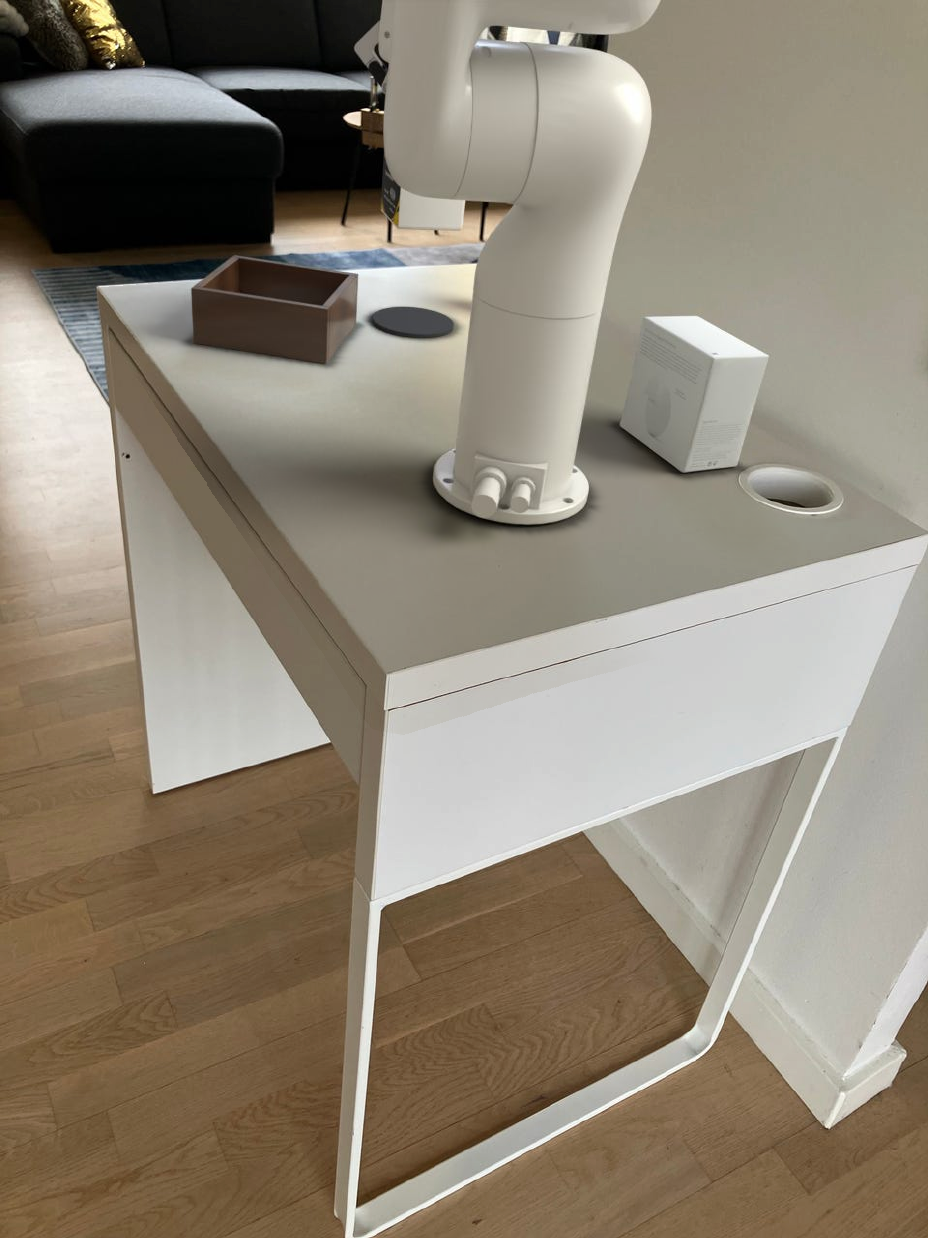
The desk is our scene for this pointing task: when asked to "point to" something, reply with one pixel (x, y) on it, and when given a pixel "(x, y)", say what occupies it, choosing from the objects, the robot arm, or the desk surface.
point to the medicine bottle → (418, 208)
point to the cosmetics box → (692, 392)
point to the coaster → (413, 322)
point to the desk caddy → (275, 308)
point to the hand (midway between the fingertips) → (427, 140)
